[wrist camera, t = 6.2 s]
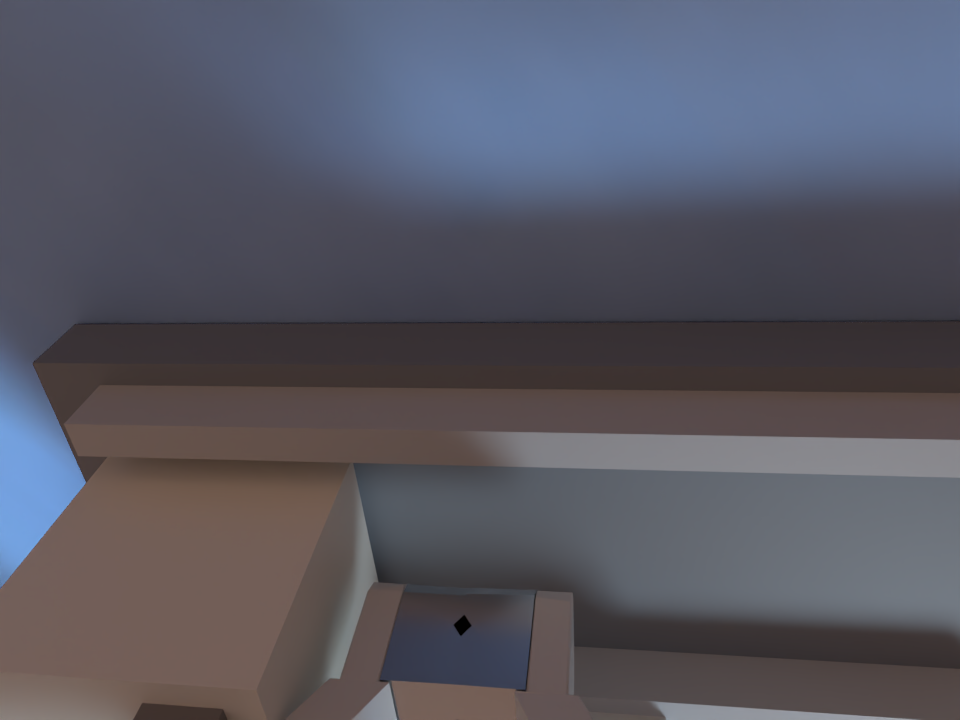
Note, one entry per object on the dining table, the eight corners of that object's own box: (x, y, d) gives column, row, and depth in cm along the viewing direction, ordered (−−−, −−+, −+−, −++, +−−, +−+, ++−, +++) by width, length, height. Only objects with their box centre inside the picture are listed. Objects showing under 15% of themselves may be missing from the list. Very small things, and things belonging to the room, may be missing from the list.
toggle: (351, 457, 12) (246, 714, 9) (388, 630, 14) (316, 894, 11) (111, 451, 13) (-82, 689, 9) (180, 619, 15) (47, 865, 11)
